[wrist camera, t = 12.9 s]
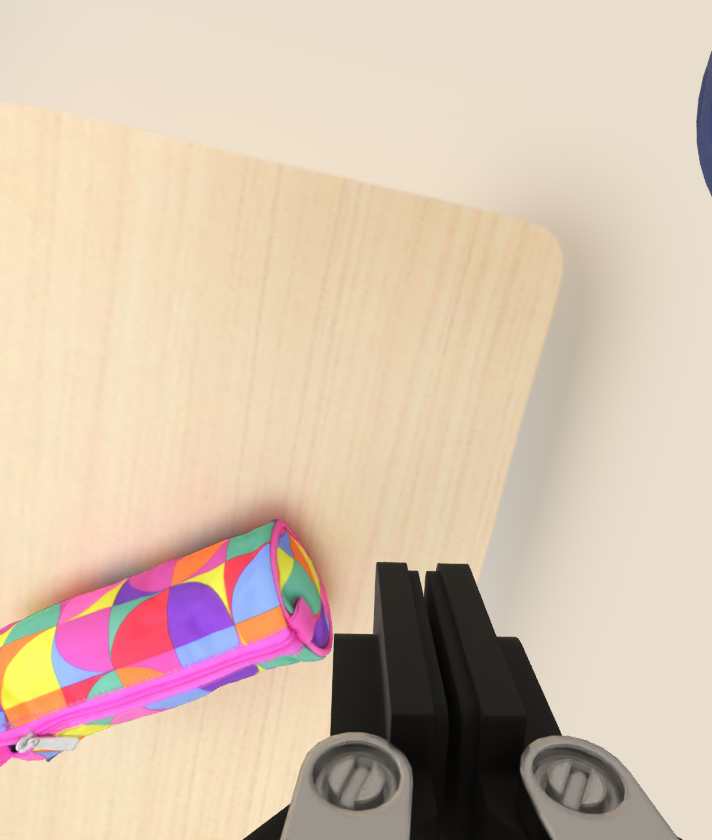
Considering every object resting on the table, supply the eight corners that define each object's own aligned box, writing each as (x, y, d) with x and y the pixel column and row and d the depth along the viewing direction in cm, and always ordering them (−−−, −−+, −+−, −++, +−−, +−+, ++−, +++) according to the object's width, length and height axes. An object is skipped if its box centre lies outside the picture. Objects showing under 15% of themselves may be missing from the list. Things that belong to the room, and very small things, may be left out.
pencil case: (75, 715, 46) (12, 824, 37) (3, 611, 44) (-83, 701, 35) (346, 600, 44) (346, 686, 35) (285, 484, 42) (268, 546, 33)
